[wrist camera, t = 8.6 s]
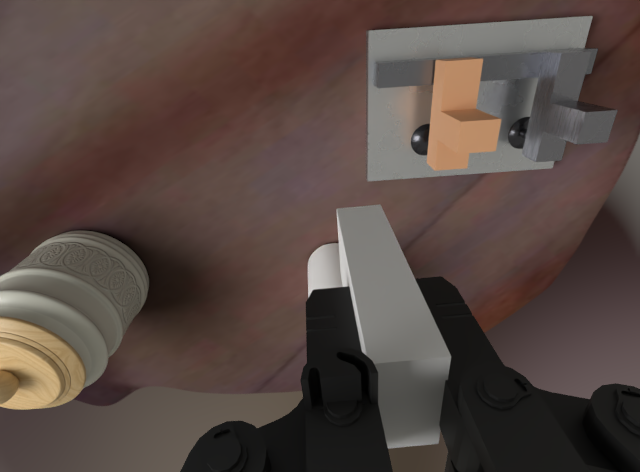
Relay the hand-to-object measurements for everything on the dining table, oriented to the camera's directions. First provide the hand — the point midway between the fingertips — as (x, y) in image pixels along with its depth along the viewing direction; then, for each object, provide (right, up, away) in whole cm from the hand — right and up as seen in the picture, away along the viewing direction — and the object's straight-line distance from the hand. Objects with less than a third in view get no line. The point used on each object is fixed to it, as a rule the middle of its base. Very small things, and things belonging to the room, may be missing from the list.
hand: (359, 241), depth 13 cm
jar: (-29, -4, +31) cm, 43 cm away
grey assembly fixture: (+13, +13, +23) cm, 30 cm away
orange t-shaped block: (+10, +12, +22) cm, 27 cm away
